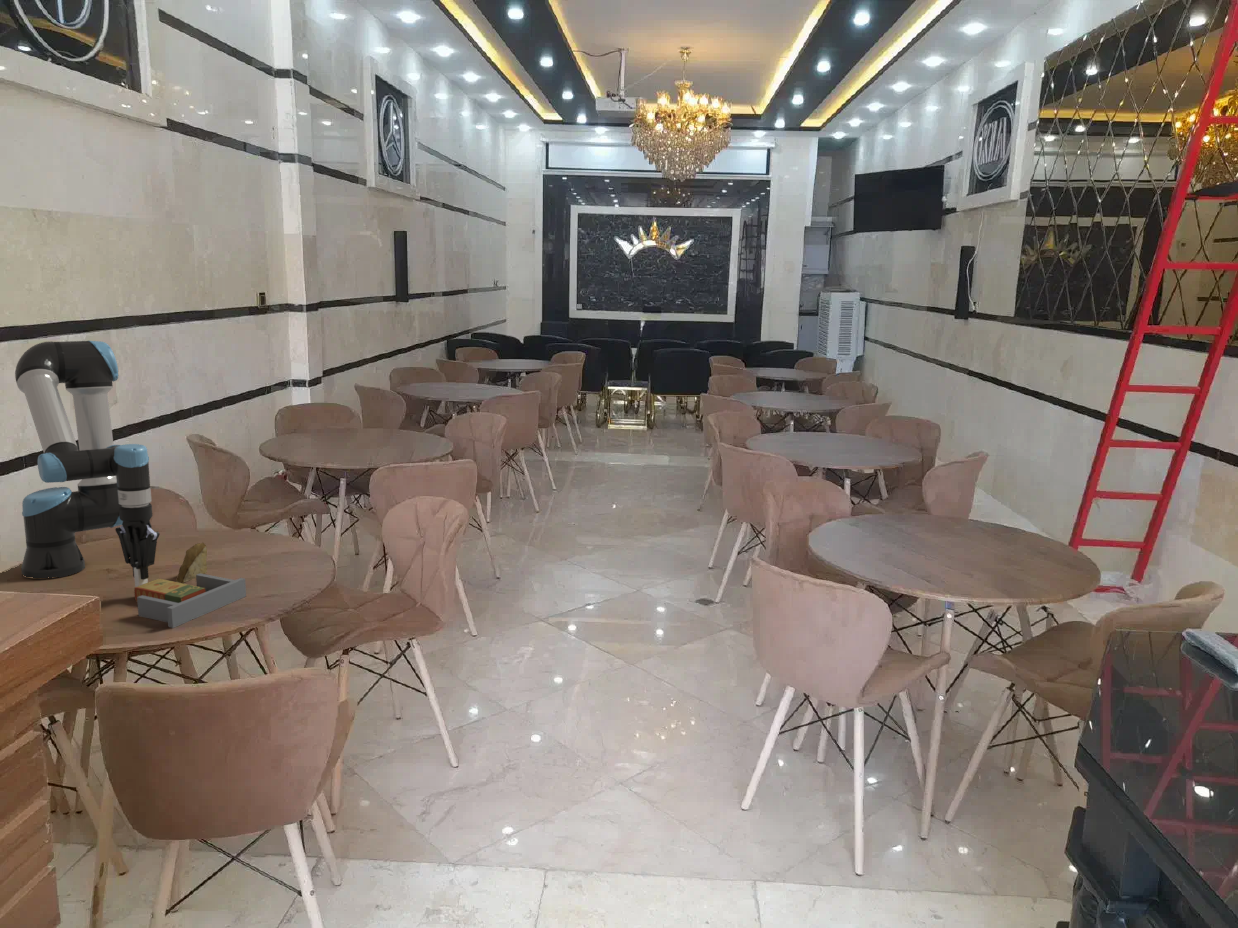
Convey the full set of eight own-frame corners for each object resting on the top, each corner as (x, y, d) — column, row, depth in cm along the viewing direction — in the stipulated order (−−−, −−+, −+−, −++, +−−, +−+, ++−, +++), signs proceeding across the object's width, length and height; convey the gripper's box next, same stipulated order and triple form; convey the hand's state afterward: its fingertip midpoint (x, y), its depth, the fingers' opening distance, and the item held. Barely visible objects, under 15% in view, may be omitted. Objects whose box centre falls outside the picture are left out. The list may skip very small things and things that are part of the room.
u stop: (131, 618, 215) (130, 599, 214) (207, 588, 237) (206, 571, 236) (173, 627, 210) (171, 608, 209) (246, 596, 232) (245, 578, 231)
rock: (182, 579, 237) (217, 566, 244) (168, 552, 238) (204, 540, 245) (173, 592, 244) (207, 579, 251) (160, 566, 245) (194, 554, 252)
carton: (160, 592, 234) (159, 577, 233) (207, 601, 229) (206, 586, 228) (134, 602, 226) (133, 586, 225) (181, 612, 221) (180, 596, 220)
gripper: (103, 504, 223) (111, 590, 228) (141, 510, 218) (148, 598, 223) (128, 497, 229) (135, 581, 234) (166, 504, 225) (172, 589, 230)
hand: (141, 589), depth 229 cm, fingers closed
